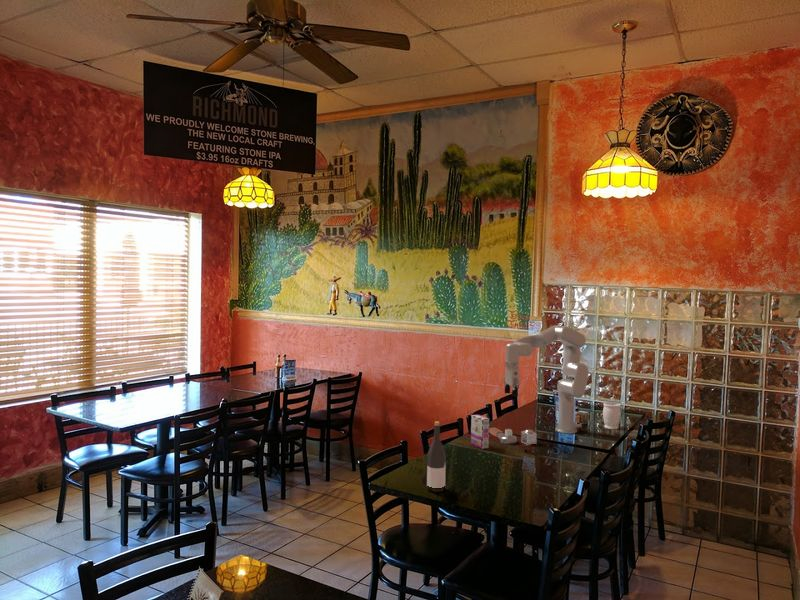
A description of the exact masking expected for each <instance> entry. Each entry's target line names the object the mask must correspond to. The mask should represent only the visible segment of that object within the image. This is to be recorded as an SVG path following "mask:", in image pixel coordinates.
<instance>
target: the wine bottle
mask: <svg viewBox="0 0 800 600" xmlns="http://www.w3.org/2000/svg"><path fill="white" fill-rule="evenodd" d="M440 427H441V425H440V421H434V425H433V441H432V442H431V444H430V446H429V448H428V451H427V456H426V458H427V459H426V466H427V467H426V487H427V486H429V487H432V488H442V487H444V486H445V487H446V469H447V468H446V466H447V465H446V464H447V463H446V460H447V459H446V458H447V455H446V451H445V447H444V445H443V443H442V441H441V439H440V436H441V435H440V434H441V433H440V431H441V428H440Z"/></svg>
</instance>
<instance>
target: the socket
mask: <svg viewBox="0 0 800 600" xmlns="http://www.w3.org/2000/svg"><path fill="white" fill-rule="evenodd" d="M537 435H538V434H537V433H536V432H535V431H534V430H533V429H525V430H522V431H521V432H520V443H521V444H523V443H524V445H525V444H526V445H525V446H532V445H531V444H536V445H537V437H538V436H537Z"/></svg>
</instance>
